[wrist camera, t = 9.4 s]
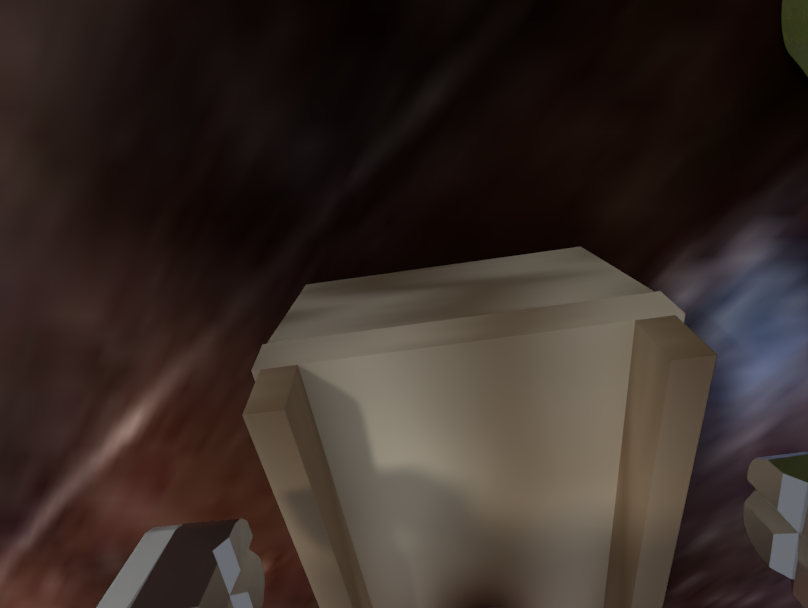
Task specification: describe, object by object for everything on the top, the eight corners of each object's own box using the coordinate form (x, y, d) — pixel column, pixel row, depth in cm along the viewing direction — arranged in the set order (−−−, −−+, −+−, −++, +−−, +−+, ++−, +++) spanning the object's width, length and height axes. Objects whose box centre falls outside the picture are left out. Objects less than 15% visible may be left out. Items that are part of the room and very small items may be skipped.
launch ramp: (368, 565, 20) (348, 800, 13) (305, 281, 16) (225, 397, 9) (586, 541, 19) (690, 770, 12) (580, 243, 15) (731, 332, 8)
